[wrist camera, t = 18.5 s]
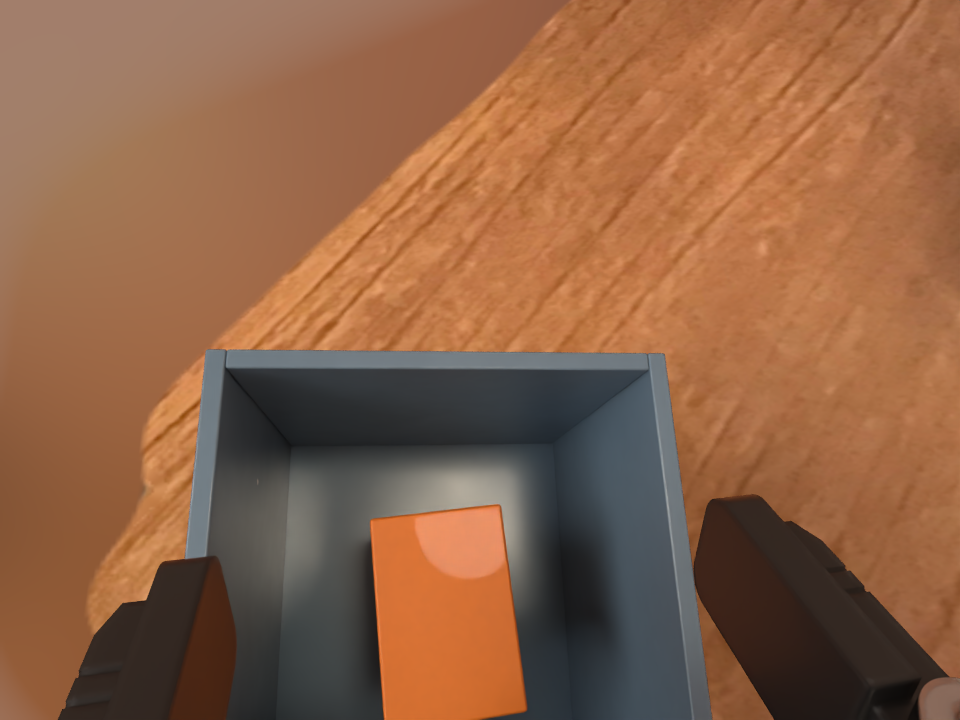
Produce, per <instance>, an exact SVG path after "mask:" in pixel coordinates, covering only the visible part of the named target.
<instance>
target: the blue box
mask: <svg viewBox="0 0 960 720" xmlns="http://www.w3.org/2000/svg"><path fill="white" fill-rule="evenodd" d="M493 504H499V505H500V506H501V509H502V517H503V524H504V532H505V539H506V547H507V555H508V562H509V570H510V578H511V585H512V593H513V601H514V608H515V616H516V624H517V631H518V639H519V647H520V654H521V662H522V669H523V677H524V685H525V692H526V700H527V711H526V712H523V713H517V714H512V715H506V716H500V717H494V718H488V719H483V720H712V713H711V706H710V698H709V690H708V683H707V675H706V667H705V660H704V652H703V644H702V637H701V629H700V621H699V614H698V606H697V598H696V591H695V583H694V575H693V568H692V560H691V552H690V545H689V537H688V529H687V522H686V514H685V506H684V499H683V491H682V483H681V475H680V468H679V460H678V452H677V445H676V437H675V429H674V422H673V414H672V406H671V399H670V391H669V383H668V376H667V368H666V360H665V354H663V353H649V354H646V353H562V352H449V351H336V350H227V351H226V350H223V349H208V350H206V354H205V364H204V374H203V384H202V393H201V403H200V413H199V423H198V433H197V442H196V452H195V462H194V472H193V482H192V492H191V501H190V511H189V521H188V531H187V541H186V550H185V559H189V558H198V557H206V556H217V557H218V558H219V560H220V563H221V567H222V571H223V575H224V580H225V584H226V588H227V592H228V596H229V601H230V605H231V609H232V613H233V618H234V622H235V627H236V636H237V656H236V666H235V672H234V678H233V683H232V689H231V694H230V699H229V705H228V710H227V716H226V720H384V716H383V702H382V688H381V674H380V660H379V646H378V632H377V618H376V604H375V590H374V575H373V561H372V547H371V533H370V520H371V519H373V518H382V517H390V516H399V515H407V514H416V513H425V512H433V511H442V510H450V509H459V508H467V507H476V506H484V505H493Z"/></svg>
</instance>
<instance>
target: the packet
mask: <svg viewBox="0 0 960 720" xmlns="http://www.w3.org/2000/svg"><path fill="white" fill-rule="evenodd" d="M370 533H371V547H372V561H373V575H374V590H375V604H376V618H377V632H378V646H379V660H380V674H381V688H382V702H383V716H384V720H483V719H488V718H494V717H500V716H506V715H512V714H517V713H523V712H526V711H527V700H526V692H525V685H524V677H523V669H522V662H521V654H520V647H519V639H518V631H517V624H516V616H515V608H514V601H513V593H512V585H511V578H510V570H509V562H508V555H507V547H506V539H505V532H504V524H503V517H502V509H501V506H500V505H499V504H493V505H484V506H476V507H467V508H459V509H450V510H442V511H433V512H425V513H416V514H407V515H399V516H390V517H382V518H373V519H371V520H370Z"/></svg>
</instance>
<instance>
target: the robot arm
mask: <svg viewBox="0 0 960 720" xmlns="http://www.w3.org/2000/svg"><path fill="white" fill-rule="evenodd" d="M694 581H695V586H696V589H697V592H698V595H699V597H700V600H701V602H702V603H703V605H704V607H705V608H706V610H707V612H708V613H709V615H710V616H711V618H712V620H713V621H714V623H715V624H716V626H717V628H718V629H719V631H720V633H721V634H722V636H723V637H724V639H725V641H726V642H727V644H728V645H729V647H730V649H731V650H732V652H733V654H734V655H735V657H736V658H737V660H738V662H739V663H740V665H741V666H742V668H743V670H744V671H745V673H746V675H747V676H748V678H749V679H750V681H751V683H752V684H753V686H754V687H755V689H756V691H757V692H758V694H759V696H760V697H761V699H762V700H763V702H764V704H765V705H766V707H767V709H768V710H769V712H770V713H771V715H772V717H773V718H774V720H960V678H951V677H949V676H948V675H947V674H946V673H945V672H944V671H943V670H942V669H941V668H940V667H939V666H938V665H937V664H936V662H935V661H934V660H933V659H932V658H931V657H930V656H929V655H928V654H927V653H926V652H925V651H924V650H923V649H922V647H921V646H920V645H919V644H918V643H917V642H916V641H915V640H914V639H913V638H912V637H911V636H910V635H909V634H908V632H907V631H906V630H905V629H904V628H903V627H902V626H901V625H900V624H899V623H898V622H897V621H896V620H895V619H894V617H893V616H892V615H891V614H890V613H889V612H888V611H887V610H886V609H885V608H884V607H883V606H882V605H881V604H880V602H879V601H878V600H877V599H876V598H875V597H874V596H873V595H872V594H871V593H870V592H866V591H865V589H864V585H863V584H862V583H861V582H860V581H859V580H858V579H857V578H856V577H855V576H854V575H853V573H852V572H851V571H847V570H846V569H845V565H844V564H843V563H842V562H841V561H840V560H839V558H838V557H837V556H836V555H835V554H834V553H833V552H832V551H831V550H830V549H829V548H828V547H827V546H826V545H825V543H824V542H823V541H821V540H820V539H818V538H817V537H815V536H814V535H812V534H811V533H809V532H808V531H806V530H804V529H803V528H801V527H800V526H798V525H797V524H795V523H794V522H792V521H788V522H783V520H782V519H781V518H780V517H779V516H778V515H777V514H776V513H775V511H774V510H773V509H772V508H771V507H770V506H769V505H768V504H767V502H766V501H765V500H764V499H763V498H761V497H760V496H758V495H754V494H751V495H743V496H734V497H726V498H717V499H712V500H711V501H710V502H709V503H708V505H707V508H706V511H705V516H704V520H703V525H702V529H701V534H700V539H699V543H698V548H697V552H696V557H695V561H694ZM236 656H237V636H236V627H235V622H234V618H233V613H232V609H231V605H230V601H229V596H228V592H227V588H226V584H225V580H224V575H223V571H222V567H221V563H220V560H219V558H218V557H217V556H206V557H198V558H189V559H181V560H172V561H164V562H162V563H161V564H160V566H159V568H158V570H157V573H156V575H155V578H154V581H153V584H152V586H151V589H150V592H149V595H148V597H147V600H145V601H137V602H129V603H122V605H121V606H120V607H119V608H118V609H117V610H116V611H115V612H114V613H113V615H112V616H111V617H110V618H109V619H108V620H107V621H106V622H105V624H104V625H103V626H102V627H101V628H100V629H99V630H98V631H97V633H96V634H95V635H94V637H93V639H92V641H91V644H90V646H89V648H88V651H87V653H86V655H85V658H84V660H83V662H82V665H81V667H80V670H79V677H78V678H76V679H75V681H74V683H73V686H72V688H71V690H70V693H69V695H68V698H67V700H66V708H65V709H62V711H61V714H60V716H59V718H58V720H226V716H227V710H228V705H229V699H230V694H231V689H232V683H233V678H234V672H235V666H236Z"/></svg>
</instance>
